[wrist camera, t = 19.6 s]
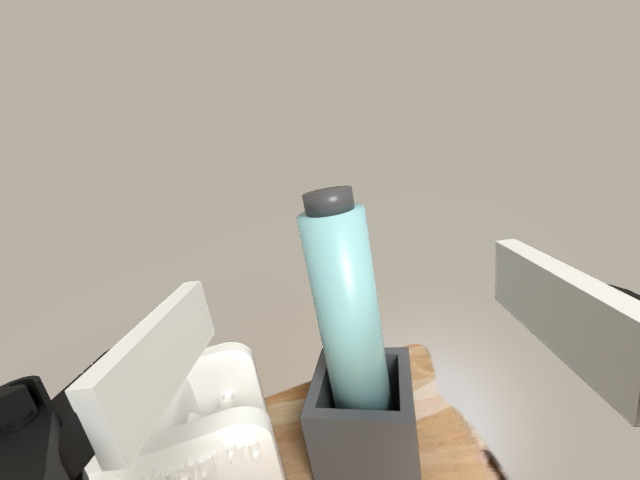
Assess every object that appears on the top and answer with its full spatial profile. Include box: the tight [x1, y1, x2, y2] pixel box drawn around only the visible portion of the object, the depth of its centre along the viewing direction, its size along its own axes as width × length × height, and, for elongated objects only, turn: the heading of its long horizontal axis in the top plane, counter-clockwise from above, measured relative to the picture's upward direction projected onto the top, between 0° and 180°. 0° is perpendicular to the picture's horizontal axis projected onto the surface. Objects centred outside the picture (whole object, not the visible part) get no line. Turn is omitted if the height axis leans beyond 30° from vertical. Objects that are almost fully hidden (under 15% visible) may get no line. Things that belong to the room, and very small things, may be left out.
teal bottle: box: [297, 186, 393, 411], centre depth 25 cm, size 5×5×24 cm
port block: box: [300, 347, 421, 480], centre depth 28 cm, size 9×9×7 cm
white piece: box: [84, 342, 286, 480], centre depth 23 cm, size 15×11×12 cm
